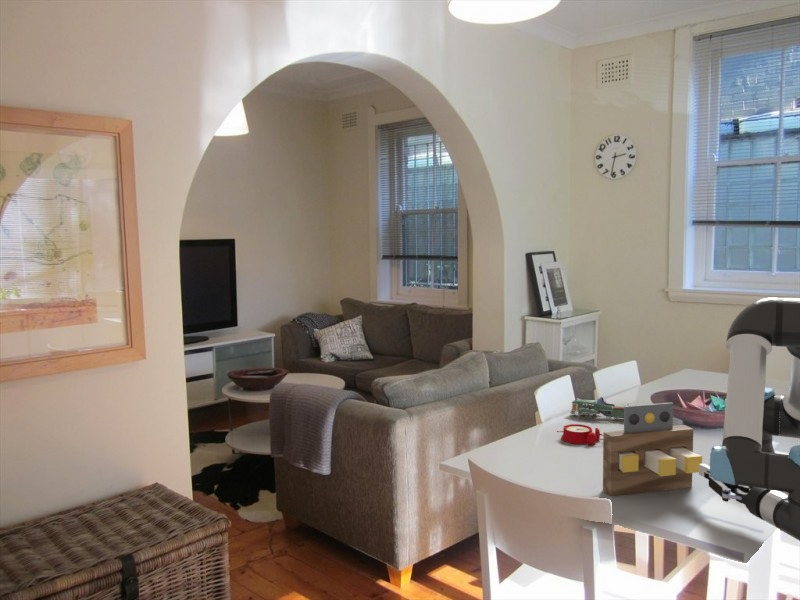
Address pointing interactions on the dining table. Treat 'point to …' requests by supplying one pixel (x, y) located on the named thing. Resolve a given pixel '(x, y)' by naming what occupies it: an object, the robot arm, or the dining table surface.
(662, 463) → the button mid
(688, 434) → the panel
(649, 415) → the card
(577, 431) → the alarm clock
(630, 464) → the button
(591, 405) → the hoverbike
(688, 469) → the button
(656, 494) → the dining table surface
